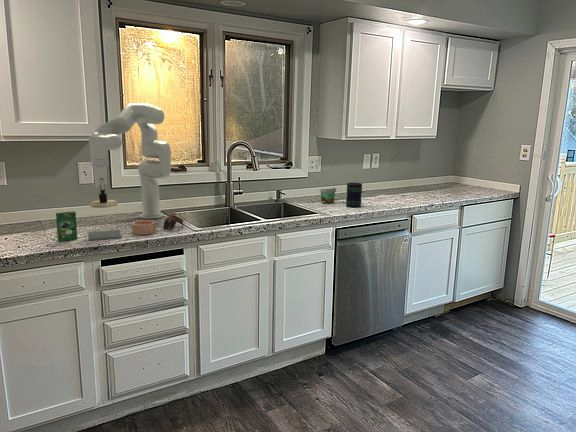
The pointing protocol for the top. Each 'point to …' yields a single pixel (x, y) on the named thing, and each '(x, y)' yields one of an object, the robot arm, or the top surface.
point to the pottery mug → (172, 222)
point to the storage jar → (354, 195)
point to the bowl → (143, 227)
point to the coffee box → (66, 226)
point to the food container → (327, 196)
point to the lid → (103, 204)
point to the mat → (104, 235)
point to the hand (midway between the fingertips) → (103, 201)
